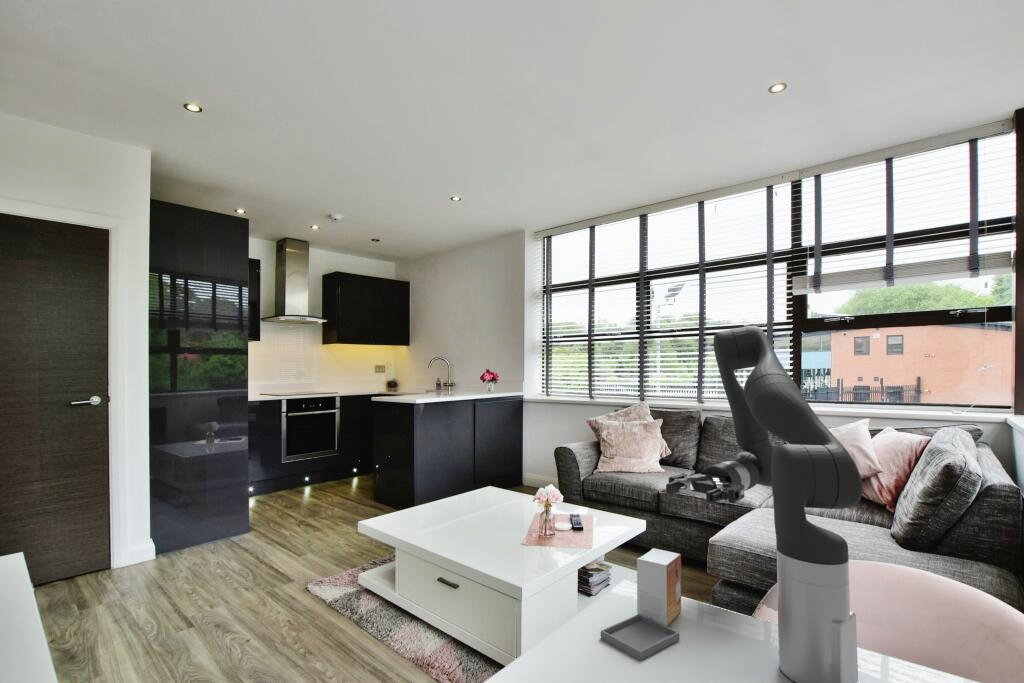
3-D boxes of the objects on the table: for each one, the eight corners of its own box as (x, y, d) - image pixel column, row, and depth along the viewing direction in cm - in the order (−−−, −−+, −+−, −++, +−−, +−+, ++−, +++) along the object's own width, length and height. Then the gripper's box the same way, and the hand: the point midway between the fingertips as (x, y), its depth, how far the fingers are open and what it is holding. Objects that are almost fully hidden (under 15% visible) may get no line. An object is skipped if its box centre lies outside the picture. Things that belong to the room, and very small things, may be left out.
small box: (666, 628, 86) (666, 565, 87) (636, 618, 90) (636, 558, 91) (682, 611, 93) (681, 553, 94) (653, 603, 96) (652, 547, 97)
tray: (679, 640, 83) (679, 632, 83) (640, 660, 76) (640, 652, 76) (639, 620, 89) (639, 613, 89) (600, 638, 83) (600, 630, 83)
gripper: (694, 458, 115) (655, 468, 105) (758, 468, 105) (722, 481, 94) (695, 490, 115) (656, 504, 104) (759, 504, 105) (723, 521, 94)
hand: (687, 493), depth 99 cm, fingers open, 8 cm apart
